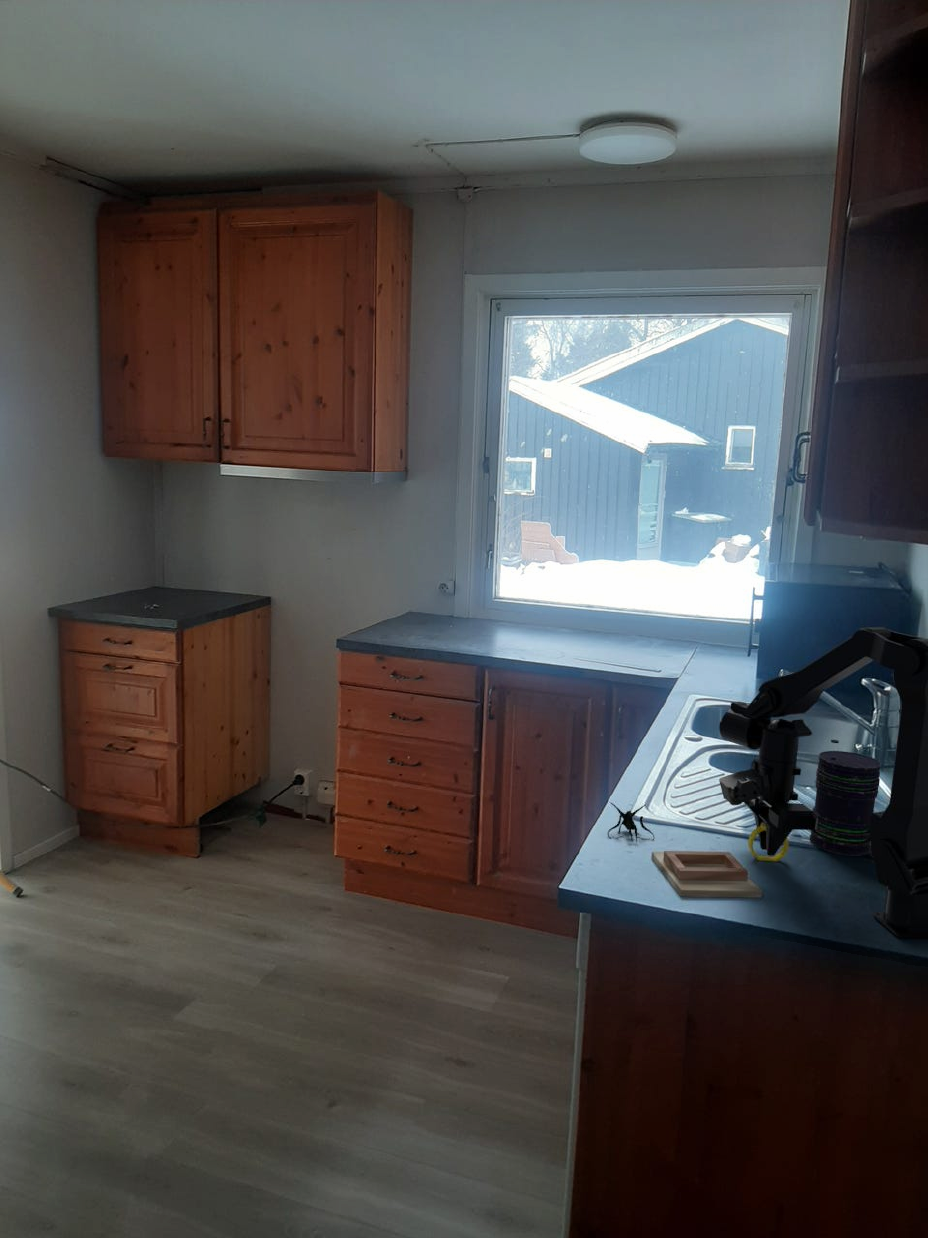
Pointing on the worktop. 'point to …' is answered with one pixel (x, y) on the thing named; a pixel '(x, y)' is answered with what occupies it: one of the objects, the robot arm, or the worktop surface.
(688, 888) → the wooden framed tray
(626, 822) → the creature
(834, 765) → the dark purple barrel
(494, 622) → the worktop surface
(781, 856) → the watch
